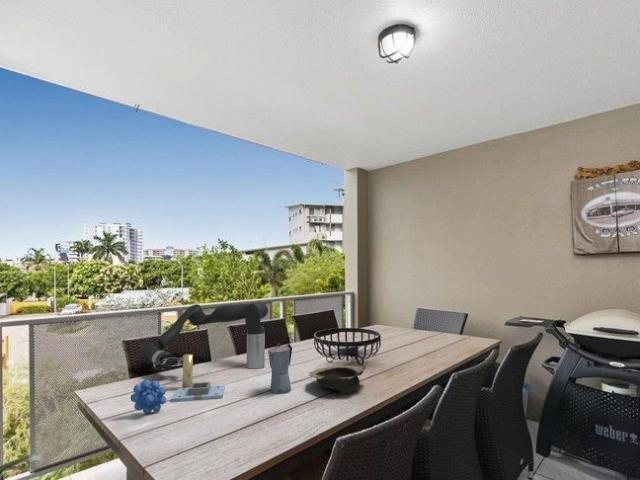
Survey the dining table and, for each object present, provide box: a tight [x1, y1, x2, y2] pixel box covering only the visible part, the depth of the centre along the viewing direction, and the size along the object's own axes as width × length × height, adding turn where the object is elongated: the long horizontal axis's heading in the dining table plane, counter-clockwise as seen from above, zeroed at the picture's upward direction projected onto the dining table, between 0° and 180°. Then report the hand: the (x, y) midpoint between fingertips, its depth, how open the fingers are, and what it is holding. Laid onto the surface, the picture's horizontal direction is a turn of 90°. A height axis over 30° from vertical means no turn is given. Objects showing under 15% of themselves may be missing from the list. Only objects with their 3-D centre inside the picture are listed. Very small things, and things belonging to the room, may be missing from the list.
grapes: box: [130, 379, 167, 415], centre depth 124 cm, size 12×7×12 cm, turn 120°
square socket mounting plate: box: [171, 381, 226, 403], centre depth 144 cm, size 19×12×4 cm, turn 101°
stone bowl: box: [308, 365, 366, 396], centre depth 152 cm, size 25×25×9 cm
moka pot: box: [267, 341, 293, 395], centre depth 150 cm, size 10×15×20 cm, turn 152°
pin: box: [181, 353, 194, 388], centre depth 152 cm, size 4×4×14 cm
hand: (178, 365), depth 158 cm, fingers open, 8 cm apart
